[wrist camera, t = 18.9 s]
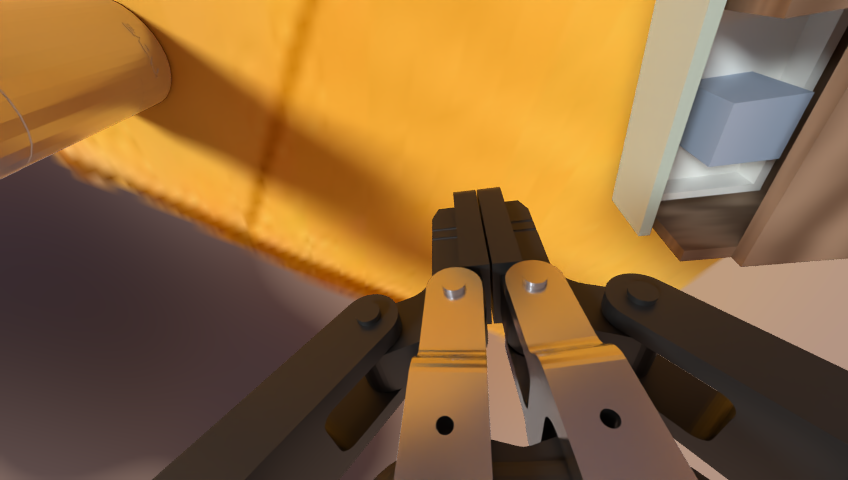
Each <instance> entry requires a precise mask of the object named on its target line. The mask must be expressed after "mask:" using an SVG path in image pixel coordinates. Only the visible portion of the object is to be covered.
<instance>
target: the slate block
mask: <svg viewBox="0 0 848 480" xmlns="http://www.w3.org/2000/svg"><path fill="white" fill-rule="evenodd" d="M814 93H815V92H813V91H810V90H807V89H804V88H801V87H798V86H795V85H792V84H789V83H786V82H783V81H780V80H777V79H774V78H771V77H768V76H765V75H762V74H759V73H756V72H753V71H751V72H744V73H738V74H731V75H725V76H718V77H712V78H705V79H701V81H700V84H699V87H698V90H697V93H696V96H695V99H694V102H693V105H692V108H691V111H690V114H689V117H688V120H687V123H686V126H685V129H684V132H683V135H682V138H681V141H680V144H679V145H680V146H681V147H682V148H684V149H685V150H686V151H688V152H689V153H690V154H692V155H693V156H694V157H696V158H697V159H698V160H700V161H701V162H702V163H704V164H705V165H706V166H708V167H714V166H723V165H731V164H739V163H748V162H756V161H765V160H773V159H779V158H780V156H781V154H782V152H783V150H784V149H785V147H786V145H787V143H788V141H789V139H790V137H791V135H792V134H793V132H794V130H795V128H796V126H797V124H798V122H799V121H800V119H801V117H802V115H803V113H804V111H805V109H806V107H807V106H808V104H809V102H810V100H811V98H812V96H813V94H814Z"/></svg>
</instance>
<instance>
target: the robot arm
mask: <svg viewBox="0 0 848 480" xmlns="http://www.w3.org/2000/svg"><path fill="white" fill-rule="evenodd" d="M170 87H171V70H170V66H169V63H168V60H167V57H166V55H165V53H164V51H163V49H162V47H161V45H160V44H159V42H158V41H157V39H156V38H155V36H154V35H153V33H152V32H151V31H150V30H149V29H148V28H147V26H146V25H145V24H144V23H143V22H142V21H141V20H140V19H139V18H137V17H136V16H135V15H134V14H133V13H132V12H130V11H129V10H128V9H126V8H125V7H123V6H122V5H120V4H119V3H117V2H115V1H112V0H0V179H2V178H4V177H6V176H8V175H10V174H13V173H15V172H17V171H19V170H20V169H22V168H24V167H26V166H29V165H31V164H33V163H35V162H37V161H39V160H41V159H43V158H45V157H47V156H49V155H52V154H54V153H56V152H58V151H60V150H62V149H64V148H66V147H68V146H70V145H72V144H74V143H77V142H79V141H81V140H83V139H85V138H87V137H89V136H91V135H93V134H95V133H97V132H100V131H102V130H104V129H106V128H108V127H110V126H112V125H114V124H116V123H118V122H120V121H123V120H125V119H127V118H129V117H131V116H133V115H135V114H137V113H139V112H141V111H144V110H146V109H148V108H150V107H152V106H154V105H156V104H158V103H160V102H162V101H163V100H164V99H165V98H166V97H167V95H168V93H169V91H170ZM453 196H454V207H455V208H446V209H439V210H438V211H437V213H436V214H435V216H434V218H433V219H432V231H433V232H432V240H433V241H432V277H431V278H430V280H429V281H428V283H427V287H426V288H425V289H424V290H423V291H422V292H421V293H419V294H418V295H416V296H414V297H412V298H409V299H406V300H404V301H401V302H398V303H395V302H394V301H393V300H392V299H391V298H389V297H387V296H384V295H379V294H373V295H367V296H364V297H361V298H359V299H357V300H356V301H354V302H353V303H352V304H350V305H349V306H348V307H347V308H346V309H345V310H343V311H342V312H341V313H340V314H339V315H338V316H337V317H336V318H334V319H333V320H332V321H331V322H330V323H329V324H328V325H327V326H325V327H324V328H323V329H322V330H321V331H320V332H319V333H317V334H316V335H315V336H314V337H313V338H312V339H311V340H310V341H308V342H307V343H306V344H305V345H304V346H303V347H302V348H301V349H299V350H298V351H297V352H296V353H295V354H294V355H293V356H291V357H290V358H289V359H288V360H287V361H286V362H285V363H284V364H282V365H281V366H280V367H279V368H278V369H277V370H276V371H274V372H273V373H272V374H271V375H270V376H269V377H268V378H267V379H265V380H264V381H263V382H262V383H261V384H260V385H259V386H258V387H256V388H255V389H254V390H253V391H252V392H251V393H250V394H249V395H247V396H246V397H245V398H244V399H243V400H242V401H241V402H239V404H237V405H236V406H235V407H234V408H233V409H231V410H230V411H229V412H228V413H227V414H226V415H225V416H224V417H222V418H221V419H220V420H219V421H218V422H217V423H216V424H215V425H214V426H212V427H211V428H210V429H209V430H208V431H207V432H206V433H204V434H203V435H202V436H201V437H200V438H199V439H198V440H196V442H195V443H193V444H192V445H191V446H190V447H189V448H187V449H186V450H185V451H184V452H183V453H182V454H181V455H180V456H178V457H177V458H176V459H175V460H174V461H173V462H172V463H170V464H169V465H168V466H167V467H166V468H165V469H164V470H163V471H161V472H160V473H159V474H158V475H157V476H156V477H155V478H154V479H153V480H340V478H341V477H342V476H343V475H344V473H345V472H346V471H347V470H348V468H349V467H350V466H351V465H352V463H353V462H354V461H355V460H356V459H357V457H358V456H359V455H360V453H361V452H362V451H363V450H364V448H365V447H366V446H367V445H368V444H369V442H370V441H371V440H372V439H373V437H374V436H375V435H376V434H377V433H378V431H379V430H380V429H381V427H382V426H383V425H384V424H385V423H386V421H387V420H388V419H389V418H390V416H391V415H392V414H393V413H394V411H395V410H396V409H397V408H398V406H399V405H400V404H401V403H402V401H403V400H404V399H405V403H404V410H403V417H402V424H401V432H400V438H399V446H398V453H397V460H396V461H395V462H394V463H392V464H391V465H389V466H388V467H387V468H385V470H383V471H382V472H381V473H380V474H379V475H378V476H377V477H376V478H375V479H374V480H709V479H708V478H706V477H705V476H704V475H702V474H701V473H699V472H698V471H696V470H695V469H693V468H692V467H690V466H689V464H688V462H687V461H686V459H685V457H684V456H683V454H682V452H681V450H680V449H679V447H678V445H677V444H676V442H675V440H677V441H678V442H679V443H681V444H682V445H683V446H685V447H686V448H687V449H689V450H690V451H691V452H693V453H694V454H695V455H697V456H698V457H699V458H701V459H702V460H703V461H704V462H706V463H707V464H709V465H710V466H711V467H713V468H714V469H715V470H716V471H718V472H719V473H720V474H722V475H723V476H724V477H726V478H727V479H728V480H848V371H847V370H845V369H843V368H841V367H839V366H837V365H834V364H833V363H830V362H829V361H826V360H824V359H822V358H820V357H818V356H816V355H814V354H812V353H810V352H808V351H805V350H803V349H801V348H799V347H797V346H795V345H793V344H791V343H789V342H786V341H785V340H782V339H780V338H778V337H776V336H774V335H772V334H770V333H768V332H766V331H764V330H762V329H760V328H757V327H755V326H753V325H751V324H749V323H747V322H745V321H743V320H741V319H738V318H737V317H734V316H732V315H730V314H728V313H726V312H724V311H722V310H720V309H717V308H716V307H714V306H711V305H709V304H707V303H705V302H703V301H701V300H699V299H696V298H695V297H693V296H690V295H688V294H686V293H684V292H682V291H680V290H678V289H676V288H674V287H672V286H670V285H668V284H665V283H663V282H661V281H659V280H657V279H655V278H652V277H649V276H646V275H641V274H622V275H618V276H615V277H613V278H612V279H611V280H609V282H608V283H607V285H606V287H603V286H596V285H590V284H583V283H578V282H575V281H572V280H569V279H567V278H565V277H564V275H563V273H562V272H561V271H560V270H559V269H558V268H556V267H555V266H553V265H551V264H550V262H549V260H548V257H547V255H546V252H545V250H544V247H543V245H542V242H541V240H540V237H539V235H538V232H537V230H536V227H535V225H534V222H533V221H532V217H531V215H530V212H529V210H528V208H527V207H525V206H524V205H523V204H522V203H520V202H519V201H518V200H517V201H508V202H504V199H503V196H502V192H501V189H500V187H496V188H487V189H479V190H477V196H476V191H475V190H471V191H462V192H454V193H453ZM491 308H492V314H493V320H494V323H503V327H504V332H505V349H506V353H507V356H508V360H509V363H510V367H511V370H512V374H513V378H514V381H515V385H516V388H517V392H518V395H519V399H520V402H521V406H522V410H523V414H524V419H525V424H526V432H527V438H528V443H529V446H527V447H519V446H515V445H511V444H507V443H503V442H499V441H495V440H491V433H490V432H491V430H490V412H489V394H488V375H487V356H486V347H487V344H488V330H487V324H492V317H491ZM658 354H659V355H658ZM660 355H661V356H660ZM663 357H664V358H663ZM668 360H669V361H668ZM671 362H672V363H671ZM676 365H677V366H676ZM679 367H680V368H679ZM684 370H685V371H684ZM687 372H688V373H687ZM689 373H690V374H689ZM692 375H693V376H692ZM697 378H698V379H697ZM700 380H701V381H700ZM705 383H706V384H705ZM708 385H709V386H708ZM710 386H711V387H710ZM713 388H714V389H713ZM718 391H719V392H718ZM674 439H675V440H674Z"/></svg>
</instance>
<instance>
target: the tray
mask: <svg viewBox="0 0 848 480" xmlns="http://www.w3.org/2000/svg"><path fill="white" fill-rule="evenodd" d="M726 2H727V0H656V2H655V7H654V12H653V16H652V21H651V25H650V30H649V34H648V39H647V43H646V48H645V52H644V57H643V61H642V66H641V70H640V75H639V79H638V84H637V88H636V93H635V97H634V102H633V106H632V111H631V115H630V120H629V125H628V129H627V134H626V138H625V143H624V147H623V152H622V156H621V161H620V165H619V170H618V174H617V179H616V183H615V188H614V192H613V197H612V201H613V202H614V203H615V205H616V206H617V208H618V209H619V210H620V212H621V213H622V214H623V216H624V217H625V218H626V220H627V221H628V223H629V224H630V225H631V227H632V228H633V229H634V231H635V232H636V233H637V235H638V236H645V235H650V232H651V229H652V226H653V223H654V220H655V217H656V214H657V211H658V208H659V205H660V202H661V201H664V200H674V199H683V198H693V197H702V196H711V195H721V194H730V193H739V192H749V191H758V190H760V189H761V187H762V185H763V183H764V181H765V179H766V178H767V176H768V174H769V172H770V170H771V168H772V166H773V164H774V163H775V161H776V159H773V160H765V161H756V162H748V163H739V164H731V165H723V166H714V167H708V166H706V165H705V164H704V163H702V162H701V161H700V160H698V159H697V158H696V157H694V156H693V155H692V154H690V153H689V152H688V151H686V150H685V149H684V148H682V147H681V146H680V145H679V144H680V141H681V138H682V135H683V132H684V129H685V126H686V123H687V120H688V117H689V114H690V111H691V108H692V105H693V102H694V99H695V96H696V93H697V90H698V87H699V84H700V81H701V79H705V78H712V77H718V76H725V75H731V74H738V73H744V72H751V71H753V72H756V73H759V74H762V75H765V76H768V77H771V78H774V79H777V80H780V81H783V82H786V83H789V84H792V85H795V86H798V87H801V88H804V89H807V90H810V91H813V90H814V88H815V86H816V84H817V82H818V80H819V78H820V77H821V75H822V73H823V71H824V69H825V67H826V65H827V64H828V62H829V60H830V58H831V56H832V54H833V52H834V50H835V49H836V47H837V45H838V43H839V41H840V39H841V37H842V35H843V34H844V32H845V30H846V28H847V26H848V8H845V9H839V10H833V11H827V12H821V13H815V14H809V15H803V16H797V17H791V18H785V19H782V18H776V17H769V16H762V15H756V14H749V13H742V12H736V11H729V10H724V8H725V5H726Z"/></svg>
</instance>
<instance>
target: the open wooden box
mask: <svg viewBox="0 0 848 480" xmlns="http://www.w3.org/2000/svg"><path fill="white" fill-rule="evenodd" d="M845 8H848V0H727V2H726V5H725V8H724V10H729V11H736V12H742V13H749V14H756V15H762V16H769V17H776V18H782V19H785V18H791V17H797V16H803V15H809V14H815V13H821V12H827V11H833V10H839V9H845ZM813 92H815V93H814V94H813V96H812V98H811V100H810V102H809V104H808V106H807V107H806V109H805V111H804V113H803V115H802V117H801V119H800V121H799V122H798V124H797V126H796V128H795V130H794V132H793V134H792V135H791V137H790V139H789V141H788V143H787V145H786V147H785V149H784V150H783V152H782V154H781V156H780V158H779V159H776V161H775V163H774V164H773V166H772V168H771V170H770V172H769V174H768V176H767V178H766V179H765V181H764V183H763V185H762V187H761V189H760V190H758V191H749V192H739V193H730V194H721V195H711V196H702V197H693V198H683V199H674V200H664V201H661V202H660V205H659V208H658V211H657V214H656V217H655V220H654V223H653V226H652V227H653V229H654V230H655V231H656V232H657V234H658V235H659V236H660V237H661V239H662V240H663V241H664V242H665V244H666V245H667V246H668V247H669V248H670V250H671V251H672V252H673V253H674V255H675V256H676V257H677V258H678V260H679V261H690V260H702V259H714V258H726V257H732V258H733V259H734V260H735V261H736V262H737V263H738V264H739V265H740V266H741V267H745V266H758V265H771V264H783V263H796V262H808V261H821V260H834V259H846V258H848V26H847V28H846V30H845V32H844V34H843V35H842V37H841V39H840V41H839V43H838V45H837V47H836V49H835V50H834V52H833V54H832V56H831V58H830V60H829V62H828V64H827V65H826V67H825V69H824V71H823V73H822V75H821V77H820V78H819V80H818V82H817V84H816V86H815V88H814V90H813Z"/></svg>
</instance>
